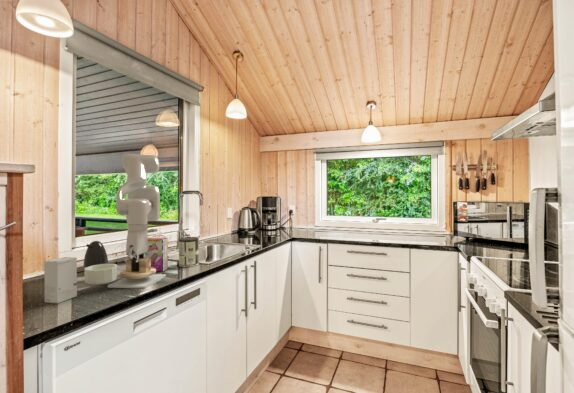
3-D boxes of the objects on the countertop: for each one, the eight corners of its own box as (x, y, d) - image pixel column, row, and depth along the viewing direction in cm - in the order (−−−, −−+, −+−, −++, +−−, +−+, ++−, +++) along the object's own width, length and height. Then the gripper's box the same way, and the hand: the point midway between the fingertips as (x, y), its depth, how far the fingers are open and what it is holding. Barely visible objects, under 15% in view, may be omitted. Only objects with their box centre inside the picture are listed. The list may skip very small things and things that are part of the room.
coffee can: (190, 261, 171) (190, 236, 171) (202, 264, 166) (202, 238, 165) (174, 265, 163) (174, 238, 163) (187, 268, 157) (186, 240, 157)
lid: (132, 271, 142) (132, 255, 141) (161, 271, 141) (161, 256, 140) (112, 280, 128) (112, 263, 127) (145, 281, 127) (145, 263, 126)
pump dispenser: (77, 274, 145) (77, 242, 145) (95, 268, 155) (94, 238, 155) (96, 275, 143) (96, 243, 143) (113, 269, 153) (112, 239, 153)
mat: (132, 275, 144) (132, 273, 144) (165, 276, 142) (165, 274, 142) (107, 287, 126) (107, 285, 126) (145, 288, 124) (145, 286, 124)
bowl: (97, 276, 142) (97, 263, 142) (122, 277, 141) (122, 263, 141) (78, 284, 130) (78, 270, 130) (105, 285, 129) (105, 270, 129)
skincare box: (57, 304, 108) (56, 261, 107) (43, 302, 109) (42, 260, 108) (78, 295, 116) (77, 256, 115) (64, 294, 117) (64, 255, 117)
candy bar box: (141, 271, 150) (140, 238, 150) (146, 269, 155) (146, 236, 155) (163, 272, 149) (162, 238, 149) (168, 269, 154) (167, 236, 154)
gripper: (140, 225, 142) (140, 265, 143) (117, 230, 125) (118, 275, 126) (155, 225, 142) (156, 265, 142) (135, 230, 125) (135, 275, 125)
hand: (138, 269), depth 134 cm, fingers closed on lid, 4 cm apart
